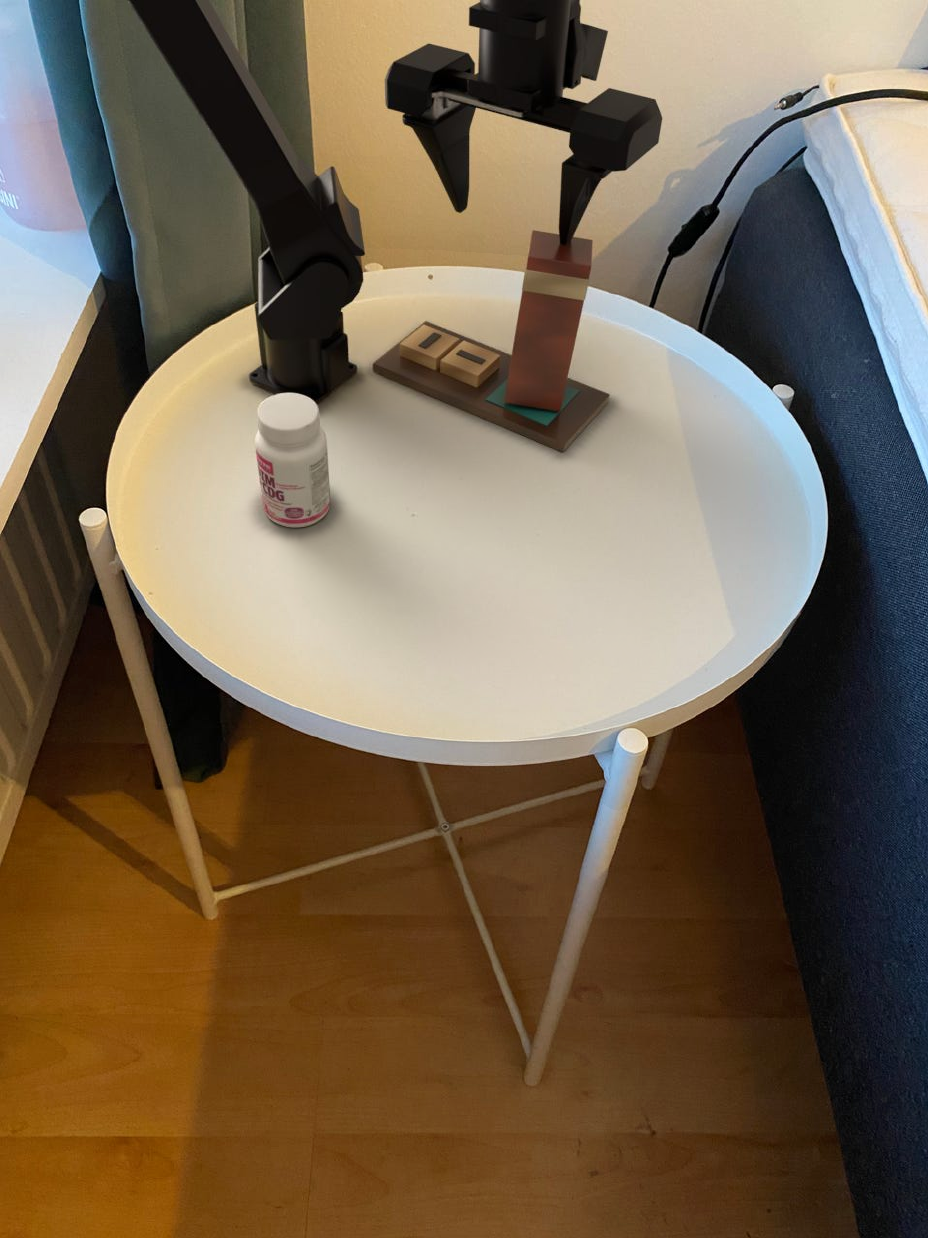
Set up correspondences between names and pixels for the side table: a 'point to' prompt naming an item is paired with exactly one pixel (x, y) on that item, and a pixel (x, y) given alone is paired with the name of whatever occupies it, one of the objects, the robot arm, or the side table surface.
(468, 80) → the robot arm
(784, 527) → the side table surface
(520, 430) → the word board
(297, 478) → the pill bottle
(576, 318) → the reddish-brown banded box
